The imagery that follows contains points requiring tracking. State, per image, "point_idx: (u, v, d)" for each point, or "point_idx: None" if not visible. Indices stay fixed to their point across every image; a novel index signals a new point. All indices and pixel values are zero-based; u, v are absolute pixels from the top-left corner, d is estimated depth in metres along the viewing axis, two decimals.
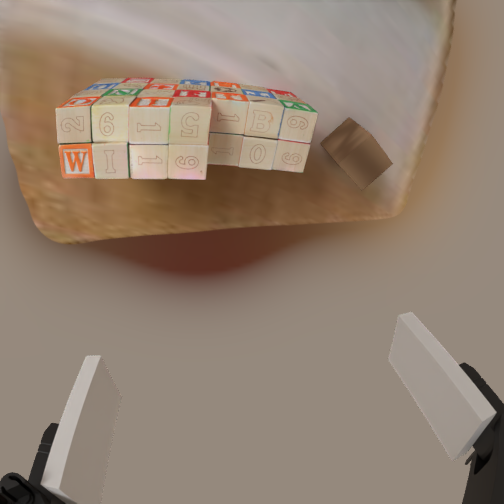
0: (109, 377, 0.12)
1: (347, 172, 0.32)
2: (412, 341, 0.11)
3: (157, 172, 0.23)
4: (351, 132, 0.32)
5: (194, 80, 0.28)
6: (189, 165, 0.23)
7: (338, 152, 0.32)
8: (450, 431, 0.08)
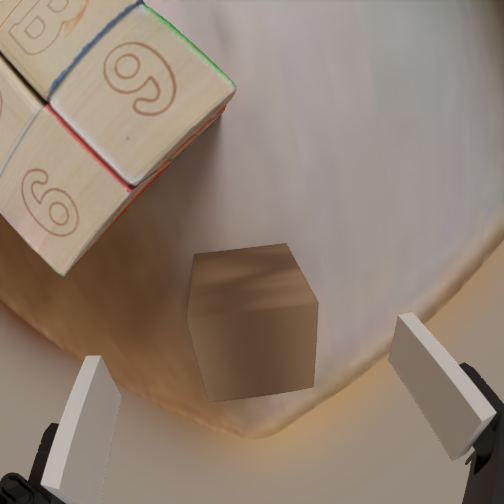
0: (109, 377, 0.12)
1: (198, 351, 0.12)
2: (412, 341, 0.11)
3: None
4: (272, 271, 0.14)
5: None
6: None
7: (209, 293, 0.13)
8: (450, 431, 0.08)
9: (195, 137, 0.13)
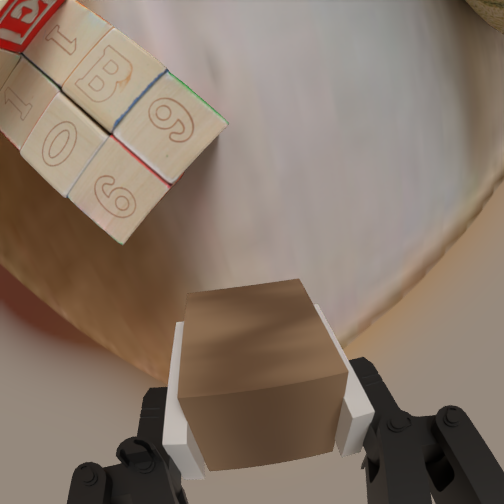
0: None
1: (195, 428, 0.09)
2: None
3: None
4: (286, 323, 0.11)
5: None
6: None
7: (206, 357, 0.09)
8: None
9: None
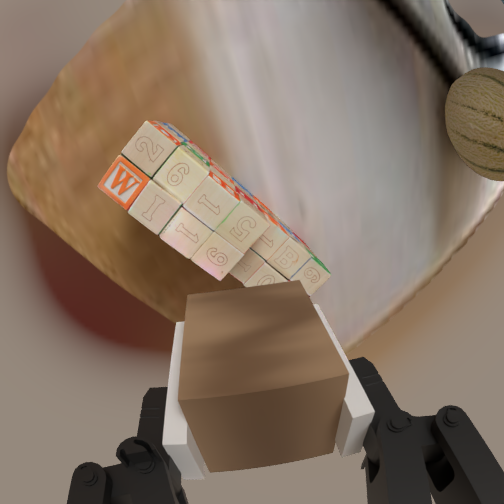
0: None
1: (195, 430, 0.09)
2: None
3: (185, 248, 0.23)
4: (286, 325, 0.11)
5: None
6: (216, 260, 0.24)
7: (207, 359, 0.09)
8: None
9: None
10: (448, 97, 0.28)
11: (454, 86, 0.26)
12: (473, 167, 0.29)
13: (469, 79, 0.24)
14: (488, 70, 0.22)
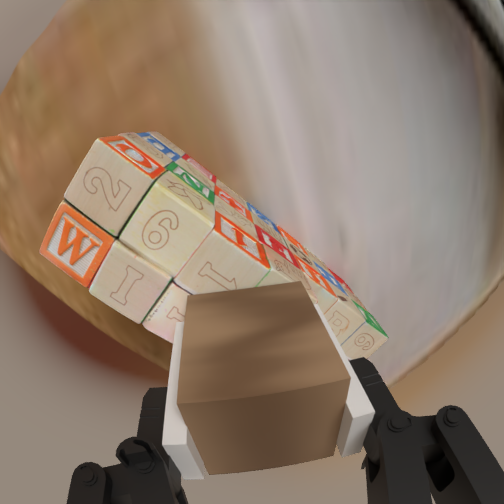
0: None
1: (194, 433, 0.08)
2: None
3: None
4: (287, 327, 0.11)
5: (258, 211, 0.25)
6: None
7: (206, 361, 0.09)
8: None
9: None
10: None
11: None
12: None
13: None
14: None
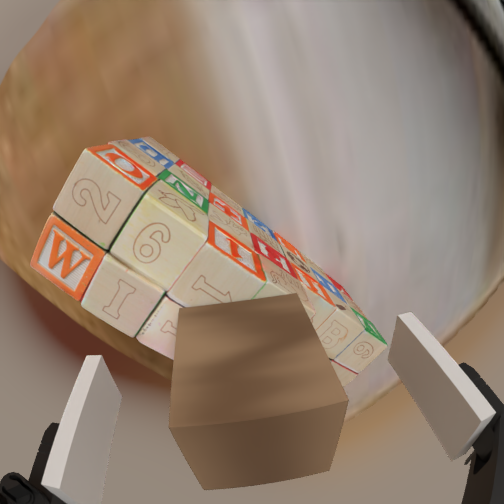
0: (110, 377, 0.12)
1: (188, 454, 0.08)
2: (412, 341, 0.11)
3: None
4: (282, 344, 0.10)
5: None
6: None
7: (199, 382, 0.09)
8: (449, 431, 0.08)
9: None
10: None
11: None
12: None
13: None
14: None
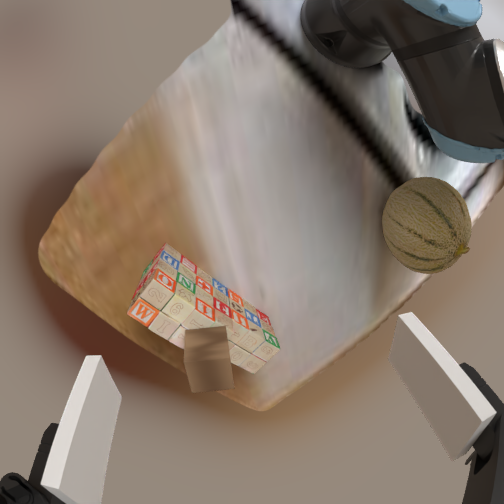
0: (109, 377, 0.12)
1: (188, 373, 0.31)
2: (412, 341, 0.11)
3: None
4: (216, 342, 0.34)
5: (218, 282, 0.48)
6: None
7: (191, 351, 0.32)
8: (450, 431, 0.08)
9: None
10: (386, 205, 0.43)
11: (391, 198, 0.41)
12: None
13: (403, 195, 0.39)
14: (423, 186, 0.37)
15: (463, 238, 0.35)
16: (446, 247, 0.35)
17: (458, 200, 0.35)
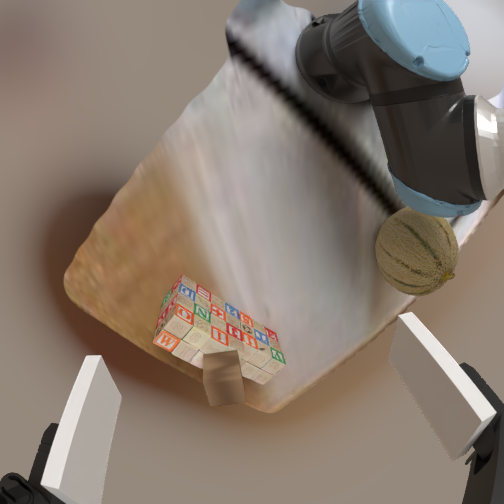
0: (109, 377, 0.12)
1: (206, 391, 0.38)
2: (412, 341, 0.11)
3: None
4: (229, 365, 0.40)
5: (231, 306, 0.54)
6: None
7: (209, 374, 0.39)
8: (450, 431, 0.08)
9: None
10: (378, 234, 0.47)
11: (383, 229, 0.46)
12: None
13: (393, 227, 0.43)
14: (412, 219, 0.42)
15: (448, 266, 0.40)
16: (431, 275, 0.40)
17: (445, 230, 0.39)
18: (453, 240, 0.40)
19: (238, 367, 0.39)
